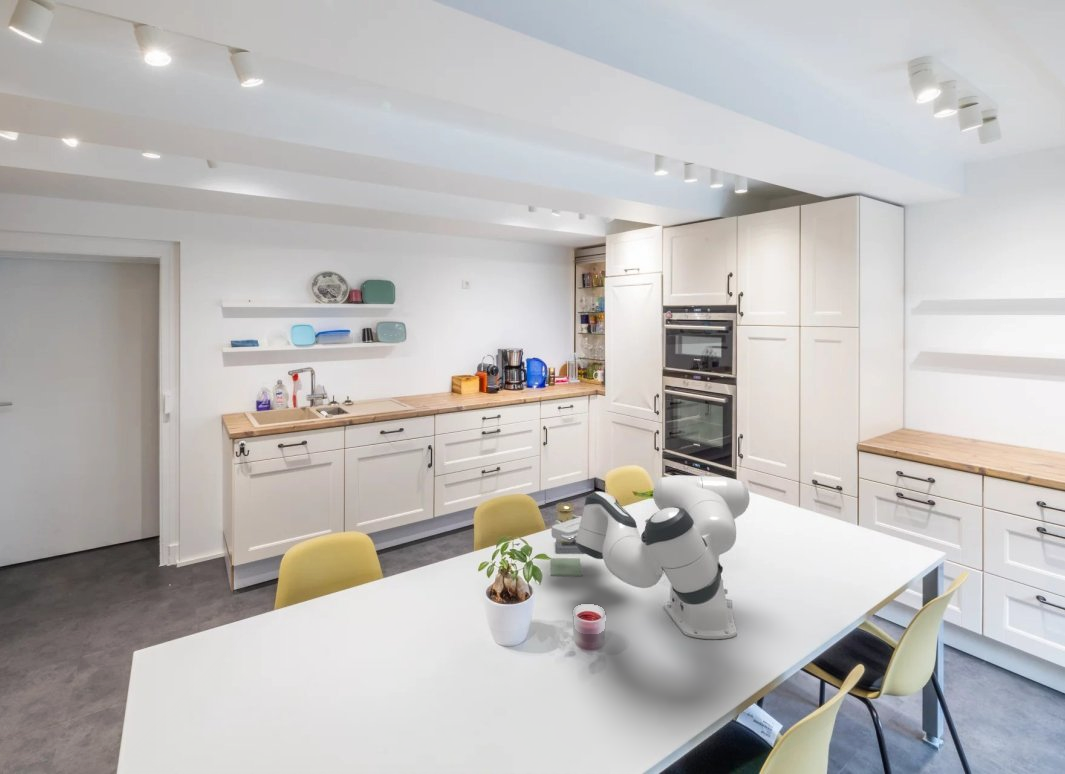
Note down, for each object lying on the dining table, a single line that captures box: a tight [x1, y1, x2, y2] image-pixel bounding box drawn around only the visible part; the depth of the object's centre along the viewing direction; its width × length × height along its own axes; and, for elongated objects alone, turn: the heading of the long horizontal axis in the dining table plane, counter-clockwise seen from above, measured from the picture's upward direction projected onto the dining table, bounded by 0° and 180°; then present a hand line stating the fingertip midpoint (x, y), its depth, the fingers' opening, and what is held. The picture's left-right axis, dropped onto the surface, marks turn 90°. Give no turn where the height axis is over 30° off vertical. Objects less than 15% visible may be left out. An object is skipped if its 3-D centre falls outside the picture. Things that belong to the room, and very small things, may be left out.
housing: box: [555, 539, 586, 555], centre depth 197 cm, size 10×10×2 cm
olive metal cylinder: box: [555, 501, 575, 544], centre depth 181 cm, size 6×6×12 cm
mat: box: [550, 557, 583, 577], centre depth 183 cm, size 12×10×1 cm
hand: (563, 519), depth 181 cm, fingers closed on olive metal cylinder, 5 cm apart
